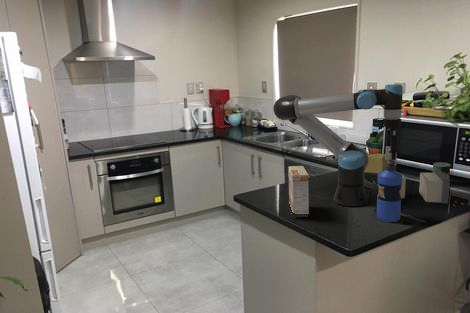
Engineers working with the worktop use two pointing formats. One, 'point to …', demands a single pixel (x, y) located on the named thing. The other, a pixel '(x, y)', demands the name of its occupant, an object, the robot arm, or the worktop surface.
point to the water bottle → (389, 193)
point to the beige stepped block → (434, 186)
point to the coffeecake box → (298, 190)
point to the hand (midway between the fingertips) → (390, 162)
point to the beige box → (403, 187)
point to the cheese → (376, 163)
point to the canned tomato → (442, 168)
